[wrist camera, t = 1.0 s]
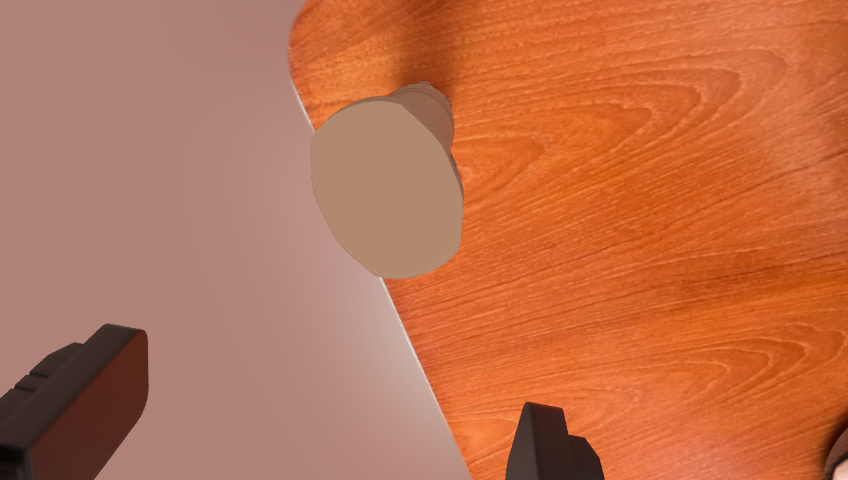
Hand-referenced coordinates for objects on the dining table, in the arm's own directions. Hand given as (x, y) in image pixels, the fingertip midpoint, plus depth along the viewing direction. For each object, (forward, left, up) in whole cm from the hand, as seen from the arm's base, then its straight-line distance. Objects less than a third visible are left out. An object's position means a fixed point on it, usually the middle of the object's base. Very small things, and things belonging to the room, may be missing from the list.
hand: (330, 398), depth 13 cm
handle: (-1, 0, -25) cm, 25 cm away
